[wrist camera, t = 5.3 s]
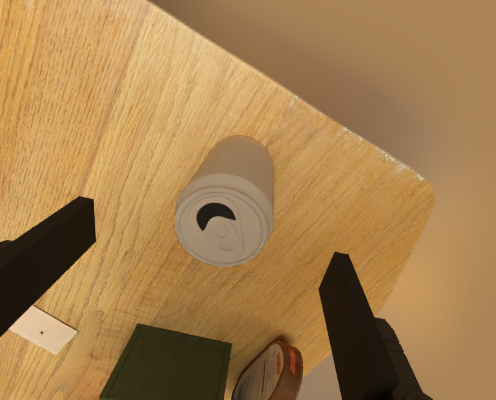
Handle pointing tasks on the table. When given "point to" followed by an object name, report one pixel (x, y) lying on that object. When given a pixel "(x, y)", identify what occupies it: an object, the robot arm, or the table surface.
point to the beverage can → (228, 204)
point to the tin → (271, 375)
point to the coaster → (43, 330)
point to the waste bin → (169, 367)
